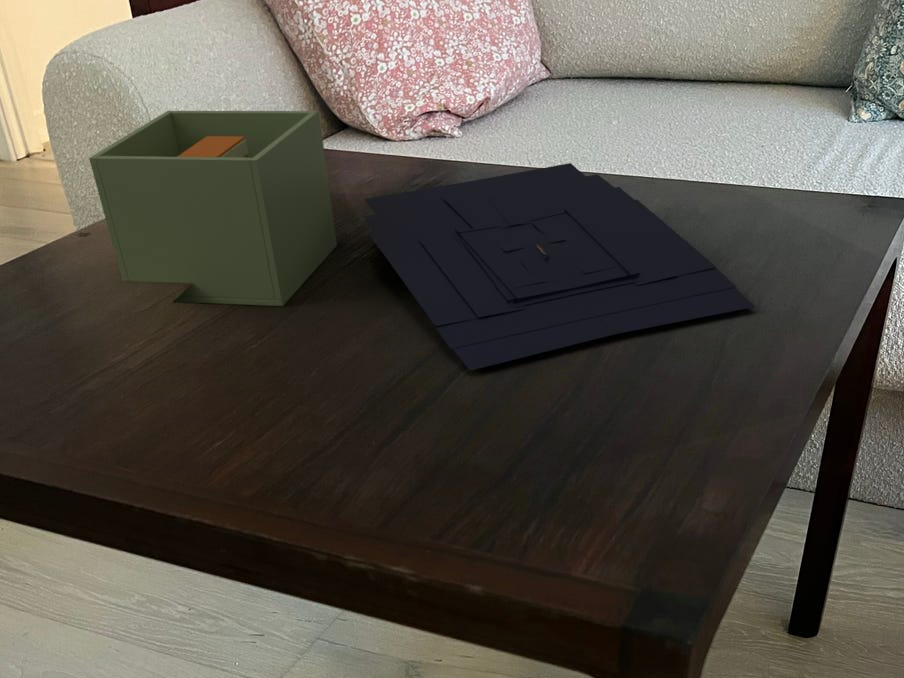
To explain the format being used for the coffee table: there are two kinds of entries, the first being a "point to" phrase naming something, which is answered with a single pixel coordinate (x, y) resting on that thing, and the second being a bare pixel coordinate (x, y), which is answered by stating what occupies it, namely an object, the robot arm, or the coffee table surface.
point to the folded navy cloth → (542, 263)
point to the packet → (218, 147)
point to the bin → (220, 205)
